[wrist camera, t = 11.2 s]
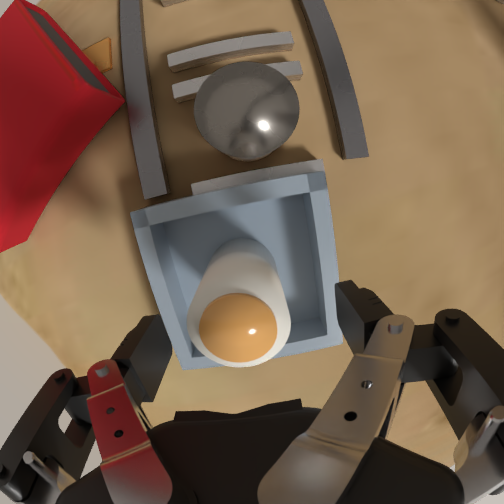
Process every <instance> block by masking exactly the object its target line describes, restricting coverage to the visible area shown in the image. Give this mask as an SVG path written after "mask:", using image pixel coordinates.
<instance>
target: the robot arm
mask: <svg viewBox="0 0 504 504" xmlns="http://www.w3.org/2000/svg"><path fill="white" fill-rule="evenodd" d="M497 1H498V2H500V3H502V4H504V0H497ZM335 300H336V313H337V320H338V324H339V327H340V329H341V331H342V333H343V335H344V337H345V339H346V341H347V343H348V345H349V347H350V349H351V350H352V352H353V354H354V356H353V358H352V360H351V362H350V364H349V365H348V367H347V369H346V371H345V372H344V374H343V376H342V378H341V379H340V381H339V383H338V384H337V386H336V388H335V389H334V391H333V392H332V394H331V396H330V397H329V399H328V400H327V402H326V404H325V405H324V407H323V408H322V409H319V408H310V407H302V403H301V399H295V400H290V401H284V402H278V403H272V404H267V405H264V406H261V407H258V408H255V409H251V410H248V411H245V412H241V413H238V414H228V413H219V412H212V411H176V413H175V416H174V420H172V421H168V422H165V423H162V424H159V425H157V426H155V427H153V426H152V424H151V423H150V421H149V419H148V417H147V415H146V413H145V412H144V410H143V408H142V407H141V403H142V402H153V401H154V398H155V396H156V393H157V391H158V388H159V385H160V383H161V380H162V378H163V375H164V373H165V370H166V368H167V365H168V363H169V360H170V358H171V356H172V344H171V341H170V338H169V336H168V333H167V331H166V328H165V326H164V323H163V320H162V318H161V316H160V315H158V314H157V315H150V316H144V317H142V319H141V320H140V322H139V323H138V325H137V326H136V327H135V328H134V329H133V330H131V331H130V332H129V333H128V334H127V335H126V337H125V338H124V341H122V343H121V344H120V346H119V347H118V348H117V350H116V351H115V353H114V354H113V356H112V357H111V359H106V360H102V361H99V362H97V363H95V364H94V365H93V366H91V367H90V369H89V370H88V372H87V376H83V377H78V378H76V377H75V375H74V374H73V372H72V370H71V369H67V368H66V369H61V370H58V371H56V372H55V373H53V374H52V375H51V376H50V377H49V379H48V380H47V381H46V383H45V384H44V385H43V387H42V388H41V389H40V391H39V392H38V394H37V395H36V396H35V398H34V399H33V401H32V402H31V403H30V405H29V406H28V408H27V409H26V411H25V412H24V414H23V415H22V417H21V418H20V420H19V421H18V423H17V424H16V426H15V427H14V429H13V430H12V432H11V433H10V435H9V437H8V438H7V440H6V441H5V443H4V445H3V446H2V448H1V450H0V490H1V491H2V492H3V493H4V494H6V495H7V496H8V497H9V498H10V499H11V500H12V501H13V502H14V503H16V504H474V503H476V502H477V501H479V500H480V499H482V498H484V497H485V496H487V495H488V494H489V495H497V494H500V493H502V492H503V491H504V349H503V348H502V347H501V346H500V345H499V344H498V343H497V342H496V341H495V340H494V339H493V338H492V337H491V336H490V335H489V334H488V333H487V332H485V331H484V330H483V329H482V328H481V327H480V326H479V325H478V324H477V323H476V322H475V321H474V320H473V319H472V318H471V317H469V316H468V315H467V314H466V313H465V312H463V311H461V310H458V309H445V310H442V311H440V312H438V313H437V314H436V316H435V321H434V324H426V325H414V322H413V320H412V319H410V318H409V317H407V316H404V315H394V314H393V313H392V311H391V310H390V309H389V308H388V307H387V306H386V305H385V304H384V303H382V301H381V299H380V298H378V296H377V295H376V294H375V293H374V292H373V291H371V290H369V289H366V288H361V289H359V288H358V287H357V286H356V285H355V283H354V282H353V281H352V280H348V281H343V282H339V283H335ZM424 380H425V381H426V382H427V384H428V386H429V387H430V389H431V391H432V393H433V394H434V396H435V398H436V399H437V401H438V403H439V405H440V406H441V408H442V410H443V412H444V414H445V415H446V417H447V419H448V421H449V423H450V425H451V426H452V428H453V430H454V432H455V434H456V436H457V438H458V440H459V442H458V444H457V445H456V447H455V450H454V455H453V456H454V462H455V472H454V471H453V470H451V469H450V468H449V467H447V466H445V465H443V464H441V463H438V462H436V461H433V460H431V459H428V458H426V457H424V456H421V455H419V454H417V453H414V452H412V451H410V450H408V449H405V448H403V447H401V446H399V445H397V444H394V443H392V442H390V441H388V440H387V437H388V434H389V431H390V429H391V425H392V422H393V419H394V417H395V414H396V411H397V408H398V405H399V403H400V400H401V397H402V394H403V390H404V387H405V384H406V383H407V382H416V381H424ZM64 408H65V409H66V411H67V412H68V413H69V415H70V416H71V417H72V420H71V422H70V424H69V426H68V428H67V430H66V432H65V433H63V432H62V430H61V429H60V428H59V425H58V419H59V416H60V415H61V413H62V411H63V410H64ZM95 439H96V441H97V444H98V448H99V451H100V454H101V457H102V463H101V464H100V466H98V467H97V468H95V469H94V470H93V471H91V472H89V473H88V474H86V475H85V476H83V477H82V478H80V477H81V474H82V471H83V469H84V466H85V463H86V461H87V459H88V456H89V454H90V451H91V449H92V446H93V444H94V442H95Z"/></svg>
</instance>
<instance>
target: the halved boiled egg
mask: <svg viewBox="0 0 504 504" xmlns="http://www.w3.org/2000/svg"><path fill="white" fill-rule="evenodd" d="M290 329H291V319H290V314H289V310H288V307H287V303H286V299H285V296H284V292H283V288H282V285H281V281H280V277H279V274H278V270H277V267H276V263H275V260H274V257H273V256H272V254H271V252H270V251H269V250H268V249H267V248H266V247H265V246H264V245H263V244H261V243H259V242H257V241H255V240H252V239H247V238H238V239H233V240H230V241H227V242H225V243H224V244H222V245H221V246H220V247H219V248H218V249H217V250H216V251H215V252H214V254H213V255H212V257H211V260H210V262H209V264H208V266H207V268H206V271H205V273H204V275H203V277H202V279H201V282H200V284H199V286H198V288H197V291H196V293H195V295H194V297H193V300H192V302H191V304H190V307H189V310H188V313H187V330H188V334H189V336H190V338H191V341H192V342H193V344H194V345H195V347H196V348H197V349H198V350H199V351H200V352H201V353H202V354H203V355H205V356H206V357H207V358H209V359H211V360H212V361H215V362H217V363H219V364H222V365H226V366H231V367H249V366H254V365H258V364H261V363H263V362H265V361H267V360H269V359H271V358H272V357H274V356H275V355H276V354H277V353H278V352H279V351H280V350H281V349H282V348H283V346H284V345H285V343H286V342H287V339H288V337H289V334H290Z"/></svg>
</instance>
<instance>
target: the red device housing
mask: <svg viewBox="0 0 504 504" xmlns="http://www.w3.org/2000/svg"><path fill="white" fill-rule="evenodd" d="M124 102H125V99H124V98H123V97H122V95H121V94H120V93H119V92H118V91H117V90H116V89H115V88H114V86H113V85H112V84H111V83H110V82H109V81H108V80H107V79H106V78H105V76H104V75H103V74H102V73H101V72H100V71H99V70H98V69H97V67H96V66H95V65H94V64H93V63H92V62H91V61H90V60H89V59H88V57H87V56H86V55H85V54H84V53H83V52H82V51H81V50H80V49H79V48H78V46H77V45H76V44H75V43H74V42H73V41H72V40H71V39H70V38H69V36H68V35H67V34H66V33H65V32H64V31H63V30H62V29H61V28H60V27H59V25H58V24H57V23H56V22H55V21H54V20H53V19H52V18H51V17H50V16H49V14H48V13H47V12H45V11H44V10H43V9H41V8H39V7H37V6H35V5H33V4H32V3H29V2H28V1H26V0H14V1H13V3H12V4H11V5H10V6H9V8H8V9H7V10H6V11H5V13H4V14H3V15H2V17H1V18H0V253H1V252H3V251H5V250H7V249H9V248H11V247H14V246H16V245H18V244H20V243H23V242H25V241H27V239H28V237H29V235H30V233H31V232H32V230H33V228H34V226H35V224H36V222H37V220H38V219H39V217H40V215H41V213H42V212H43V210H44V208H45V206H46V205H47V203H48V201H49V200H50V198H51V196H52V195H53V193H54V192H55V190H56V189H57V187H58V185H59V184H60V182H61V181H62V179H63V178H64V176H65V175H66V173H67V172H68V171H69V169H70V168H71V166H72V165H73V164H74V162H75V161H76V159H77V158H78V157H79V155H80V154H81V153H82V151H83V150H84V149H85V148H86V146H87V145H88V144H89V142H90V141H91V140H92V139H93V137H94V136H95V135H96V134H97V133H98V131H99V130H100V129H101V128H102V127H103V125H104V124H105V123H106V122H107V121H108V120H109V119H110V117H111V116H112V115H113V114H114V113H115V112H116V111H117V110H118V109H119V108H120V106H121V105H122V104H123V103H124Z"/></svg>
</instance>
